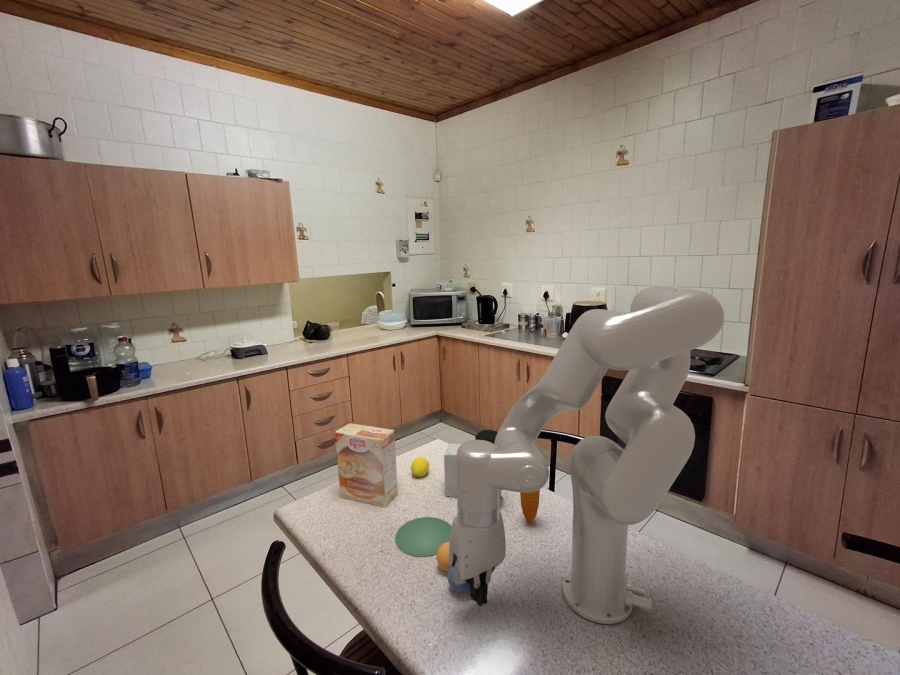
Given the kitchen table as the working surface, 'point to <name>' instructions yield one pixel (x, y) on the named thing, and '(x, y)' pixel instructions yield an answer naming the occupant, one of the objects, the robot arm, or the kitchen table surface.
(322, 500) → the kitchen table surface
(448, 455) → the supplement box
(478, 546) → the robot arm
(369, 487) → the coffeecake box
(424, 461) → the lemon
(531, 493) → the carrot
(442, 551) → the object ball
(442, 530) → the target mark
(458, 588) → the blue ball
